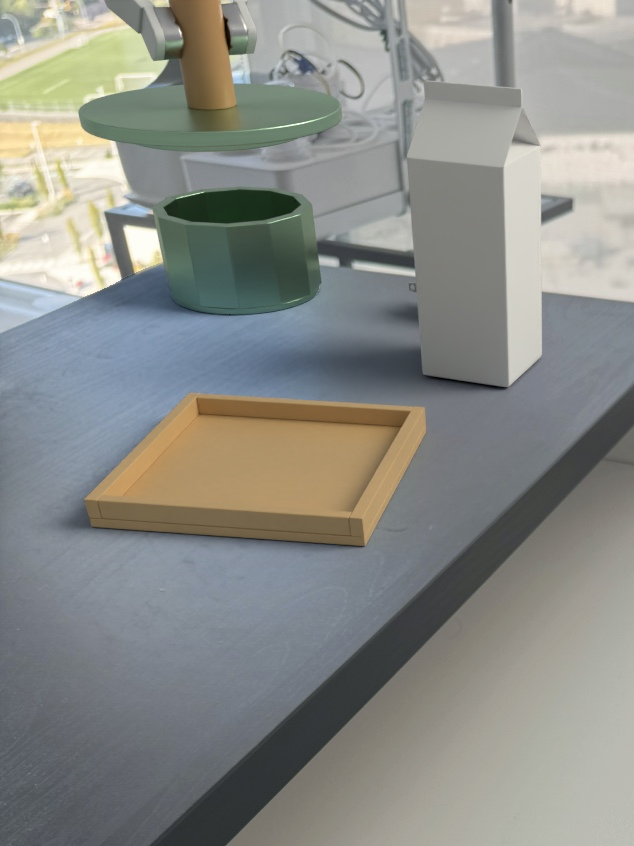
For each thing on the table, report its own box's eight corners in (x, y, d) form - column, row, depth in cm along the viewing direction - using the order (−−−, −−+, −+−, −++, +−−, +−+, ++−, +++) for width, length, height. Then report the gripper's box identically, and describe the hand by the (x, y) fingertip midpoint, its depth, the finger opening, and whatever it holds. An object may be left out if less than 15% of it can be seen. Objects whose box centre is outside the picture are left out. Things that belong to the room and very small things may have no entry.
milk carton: (509, 390, 87) (501, 97, 75) (422, 377, 88) (401, 88, 76) (542, 358, 92) (540, 80, 80) (459, 346, 94) (445, 72, 81)
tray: (91, 527, 69) (83, 499, 68) (194, 417, 82) (189, 392, 81) (365, 546, 68) (362, 518, 67) (426, 432, 81) (424, 406, 79)
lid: (37, 154, 59) (-4, -6, 55) (145, 104, 70) (117, -34, 66) (302, 166, 58) (281, 3, 54) (370, 113, 69) (358, -27, 65)
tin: (148, 310, 99) (128, 221, 94) (202, 266, 109) (187, 183, 104) (295, 318, 98) (282, 229, 94) (336, 273, 108) (327, 190, 103)
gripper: (-122, -264, 54) (-4, 15, 54) (294, -245, 63) (394, -7, 63) (-105, -143, 59) (2, 108, 59) (274, -142, 68) (366, 76, 68)
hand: (207, 49), depth 61 cm, fingers closed on lid, 2 cm apart
